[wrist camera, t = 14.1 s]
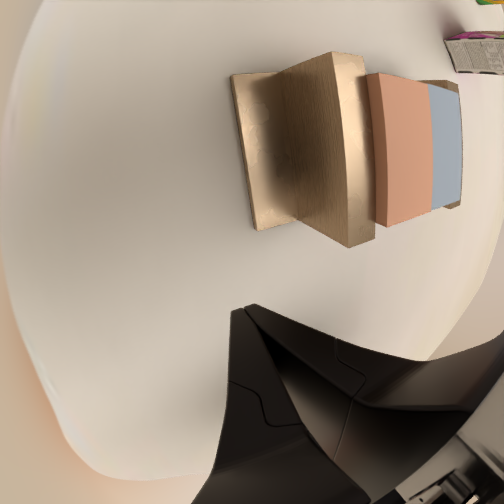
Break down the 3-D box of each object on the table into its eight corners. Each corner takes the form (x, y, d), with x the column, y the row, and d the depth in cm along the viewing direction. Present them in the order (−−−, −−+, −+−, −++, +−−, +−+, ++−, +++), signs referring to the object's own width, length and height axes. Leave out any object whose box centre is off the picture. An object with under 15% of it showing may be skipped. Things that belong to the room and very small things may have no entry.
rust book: (361, 188, 20) (431, 211, 14) (316, 198, 19) (386, 227, 13) (352, 89, 17) (427, 84, 11) (303, 88, 16) (378, 72, 10)
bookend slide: (317, 211, 19) (374, 238, 14) (254, 228, 18) (299, 265, 13) (301, 74, 15) (362, 56, 10) (230, 77, 14) (272, 47, 9)
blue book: (395, 180, 21) (459, 199, 15) (361, 187, 20) (431, 210, 14) (390, 93, 18) (458, 93, 12) (352, 89, 17) (427, 83, 11)
